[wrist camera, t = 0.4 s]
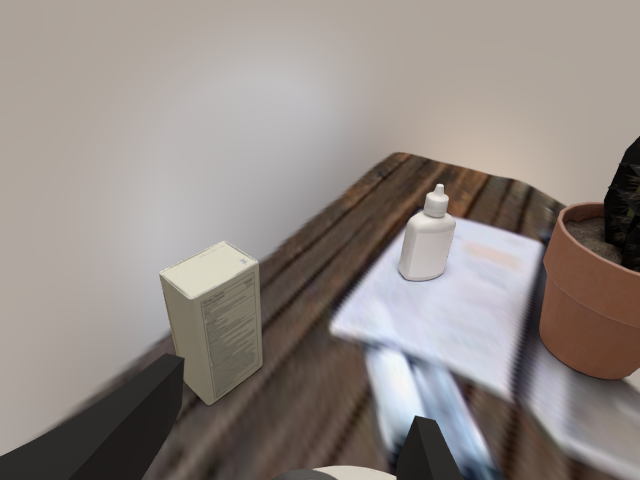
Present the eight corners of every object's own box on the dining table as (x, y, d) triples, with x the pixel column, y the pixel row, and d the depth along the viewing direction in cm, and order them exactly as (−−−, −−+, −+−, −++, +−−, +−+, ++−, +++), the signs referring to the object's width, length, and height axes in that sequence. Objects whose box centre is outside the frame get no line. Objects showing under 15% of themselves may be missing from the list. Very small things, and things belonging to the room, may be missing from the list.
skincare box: (234, 342, 41) (226, 237, 34) (265, 367, 38) (262, 260, 32) (177, 380, 37) (155, 270, 30) (208, 411, 34) (190, 298, 28)
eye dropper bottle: (444, 287, 50) (469, 197, 43) (397, 279, 51) (414, 190, 44) (442, 266, 53) (464, 180, 47) (398, 259, 54) (414, 174, 48)
